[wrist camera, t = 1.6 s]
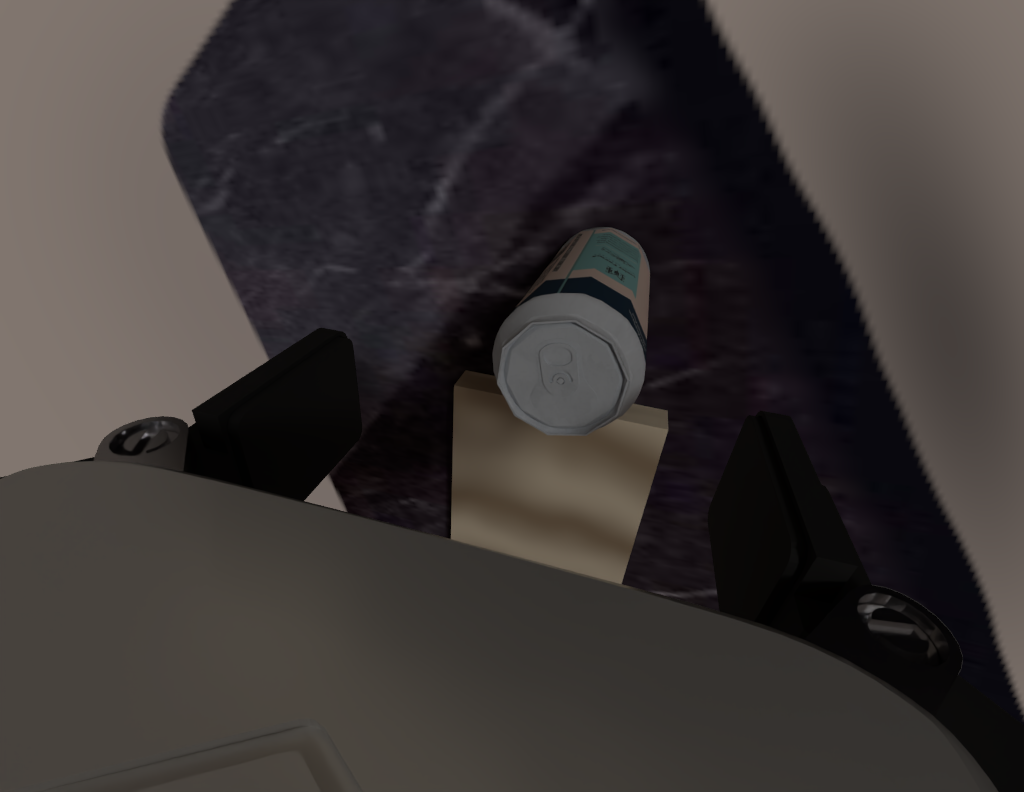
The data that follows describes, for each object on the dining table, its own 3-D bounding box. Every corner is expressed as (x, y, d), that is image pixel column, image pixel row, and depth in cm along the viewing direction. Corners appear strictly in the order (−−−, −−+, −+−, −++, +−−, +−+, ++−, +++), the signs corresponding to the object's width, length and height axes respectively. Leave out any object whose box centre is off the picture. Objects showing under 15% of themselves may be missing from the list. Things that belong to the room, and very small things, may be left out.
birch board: (608, 610, 36) (606, 633, 34) (458, 568, 38) (449, 588, 36) (667, 410, 27) (668, 429, 25) (465, 370, 29) (454, 385, 27)
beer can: (559, 321, 26) (497, 447, 16) (548, 231, 24) (469, 309, 14) (651, 316, 24) (646, 450, 14) (648, 219, 22) (642, 297, 12)
